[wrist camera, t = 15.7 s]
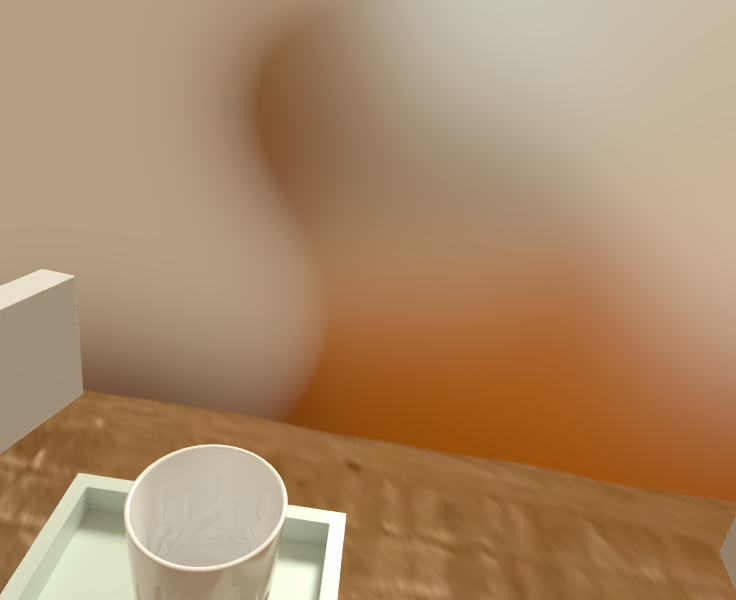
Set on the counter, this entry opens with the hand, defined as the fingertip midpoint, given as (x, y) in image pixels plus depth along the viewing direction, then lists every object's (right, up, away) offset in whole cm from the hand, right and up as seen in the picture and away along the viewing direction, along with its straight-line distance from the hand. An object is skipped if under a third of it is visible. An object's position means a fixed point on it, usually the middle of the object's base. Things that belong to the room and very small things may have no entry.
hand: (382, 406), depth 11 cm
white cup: (-10, -17, +23) cm, 30 cm away
